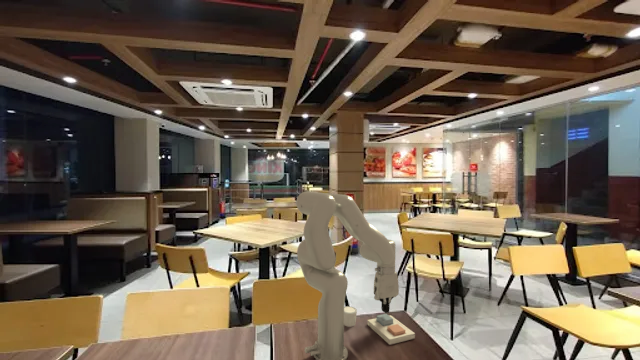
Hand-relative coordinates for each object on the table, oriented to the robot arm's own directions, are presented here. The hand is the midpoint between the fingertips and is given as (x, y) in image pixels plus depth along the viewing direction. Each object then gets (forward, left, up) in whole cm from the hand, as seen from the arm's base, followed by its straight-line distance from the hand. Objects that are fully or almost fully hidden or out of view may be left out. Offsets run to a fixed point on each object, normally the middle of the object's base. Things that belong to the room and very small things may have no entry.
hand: (385, 311), depth 129 cm
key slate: (0, 0, -5) cm, 5 cm away
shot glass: (-13, +8, -8) cm, 17 cm away
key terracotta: (0, -8, -6) cm, 10 cm away
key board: (0, -4, -7) cm, 8 cm away
